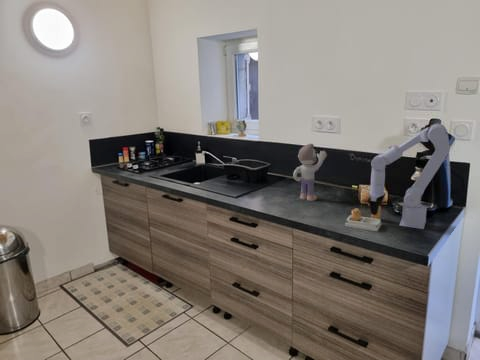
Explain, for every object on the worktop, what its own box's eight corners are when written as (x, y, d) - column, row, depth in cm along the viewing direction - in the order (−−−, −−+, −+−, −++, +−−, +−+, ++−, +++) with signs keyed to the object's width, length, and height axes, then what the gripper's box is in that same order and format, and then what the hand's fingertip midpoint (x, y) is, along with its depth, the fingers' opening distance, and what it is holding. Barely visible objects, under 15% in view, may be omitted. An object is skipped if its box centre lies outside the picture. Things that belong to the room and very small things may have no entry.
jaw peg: (380, 218, 166) (381, 203, 164) (379, 221, 162) (380, 206, 161) (368, 217, 168) (369, 202, 167) (366, 220, 165) (367, 204, 163)
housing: (381, 224, 160) (382, 209, 158) (377, 231, 153) (378, 215, 151) (349, 219, 166) (350, 204, 164) (344, 226, 159) (345, 210, 157)
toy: (330, 200, 194) (331, 144, 186) (321, 204, 188) (322, 147, 180) (301, 194, 206) (301, 141, 198) (292, 198, 200) (291, 144, 192)
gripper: (371, 177, 169) (369, 205, 172) (364, 186, 157) (362, 215, 160) (387, 179, 165) (385, 207, 169) (381, 187, 153) (379, 218, 157)
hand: (375, 211), depth 164 cm, fingers open, 7 cm apart
